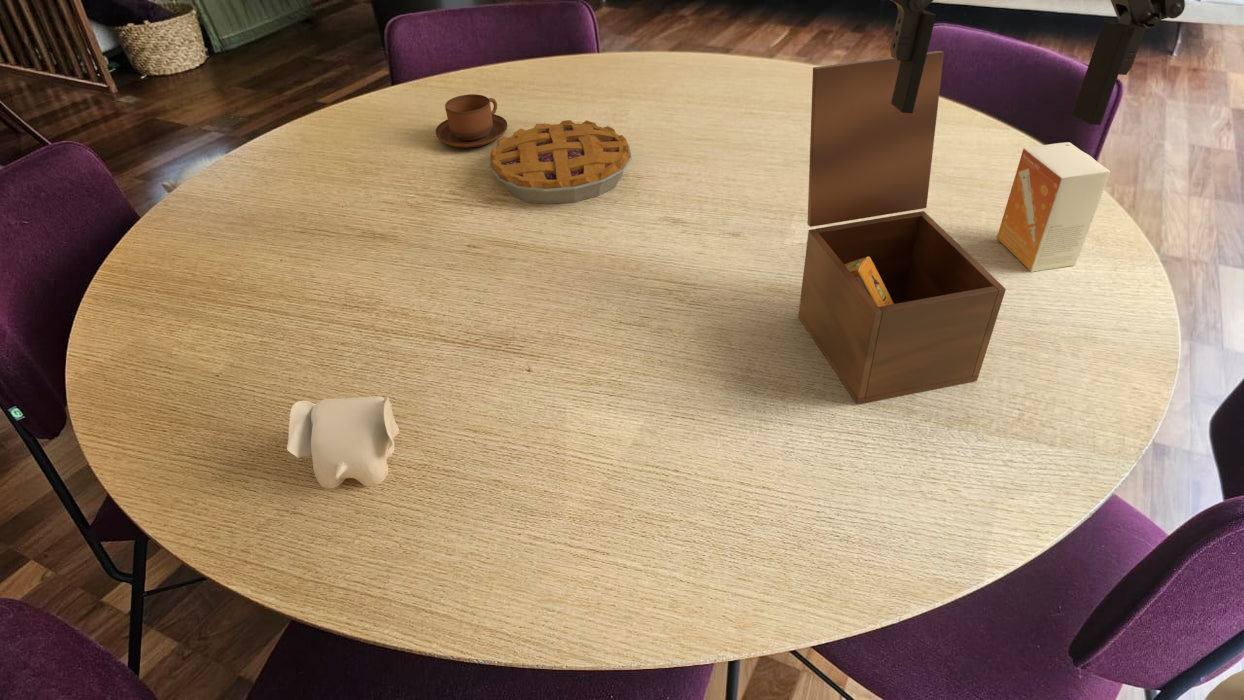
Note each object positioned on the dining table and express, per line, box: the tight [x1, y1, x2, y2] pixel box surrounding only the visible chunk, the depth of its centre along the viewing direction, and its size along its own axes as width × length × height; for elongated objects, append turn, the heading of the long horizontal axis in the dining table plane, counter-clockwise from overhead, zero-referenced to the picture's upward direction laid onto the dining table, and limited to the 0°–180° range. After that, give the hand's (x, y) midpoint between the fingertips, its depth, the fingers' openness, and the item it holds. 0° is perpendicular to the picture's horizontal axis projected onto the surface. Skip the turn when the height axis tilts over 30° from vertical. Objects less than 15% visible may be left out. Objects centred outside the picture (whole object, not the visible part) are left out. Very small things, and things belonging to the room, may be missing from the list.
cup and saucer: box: [435, 93, 508, 148], centre depth 135 cm, size 12×12×6 cm
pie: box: [488, 119, 633, 205], centre depth 123 cm, size 22×22×5 cm
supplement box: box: [845, 257, 894, 307], centre depth 86 cm, size 3×3×10 cm
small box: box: [996, 141, 1111, 273], centre depth 99 cm, size 8×6×13 cm
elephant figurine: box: [286, 395, 400, 490], centre depth 77 cm, size 10×12×9 cm
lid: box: [807, 50, 945, 228], centre depth 86 cm, size 16×14×6 cm
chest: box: [797, 210, 1007, 405], centre depth 86 cm, size 16×14×12 cm
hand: (993, 114), depth 59 cm, fingers open, 13 cm apart
